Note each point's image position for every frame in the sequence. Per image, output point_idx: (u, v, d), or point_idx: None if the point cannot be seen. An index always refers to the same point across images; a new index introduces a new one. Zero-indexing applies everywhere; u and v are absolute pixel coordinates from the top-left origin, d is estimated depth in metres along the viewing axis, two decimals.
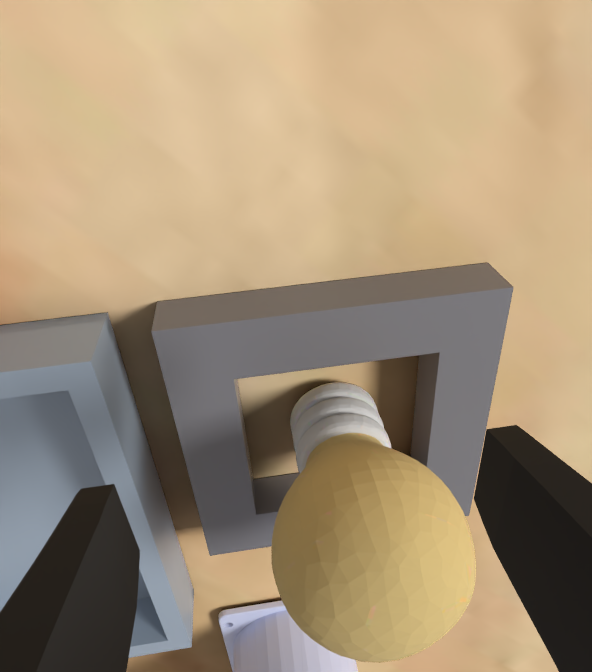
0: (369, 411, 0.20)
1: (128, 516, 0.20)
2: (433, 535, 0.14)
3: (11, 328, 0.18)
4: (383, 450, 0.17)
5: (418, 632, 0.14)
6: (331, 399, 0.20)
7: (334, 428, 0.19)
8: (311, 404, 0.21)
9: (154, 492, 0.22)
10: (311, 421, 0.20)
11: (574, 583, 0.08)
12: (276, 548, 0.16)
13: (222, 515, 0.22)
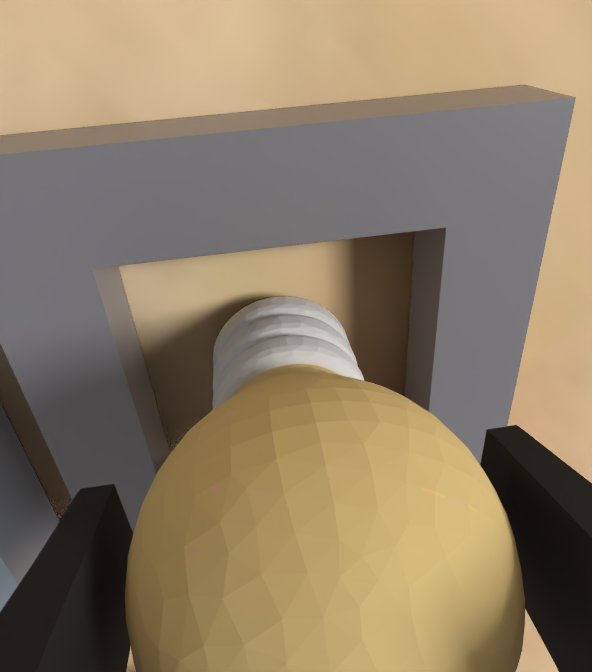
0: (332, 335, 0.12)
1: None
2: (439, 535, 0.06)
3: None
4: (343, 377, 0.09)
5: None
6: (270, 317, 0.12)
7: (269, 356, 0.11)
8: (240, 328, 0.13)
9: (8, 474, 0.14)
10: (236, 350, 0.12)
11: (574, 583, 0.08)
12: (127, 563, 0.08)
13: None
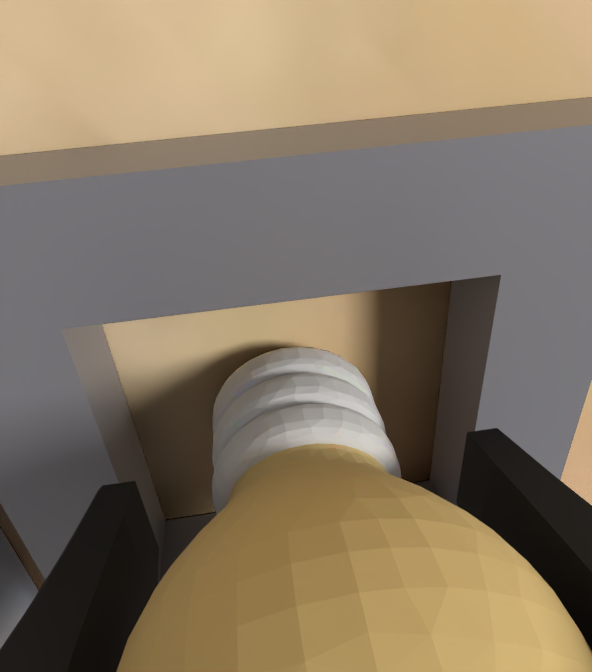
0: (357, 400, 0.10)
1: None
2: None
3: None
4: (384, 489, 0.07)
5: None
6: (282, 377, 0.10)
7: (282, 434, 0.09)
8: (245, 388, 0.11)
9: None
10: (240, 420, 0.10)
11: None
12: None
13: None
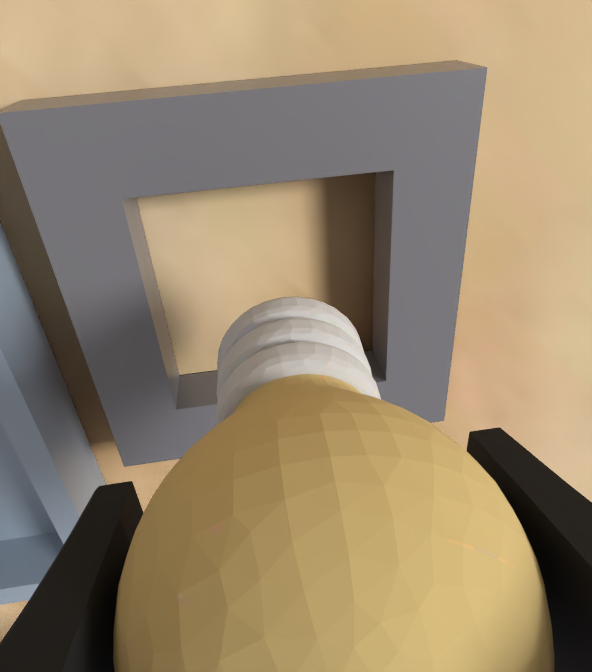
0: (345, 342, 0.11)
1: None
2: (467, 596, 0.06)
3: None
4: (360, 398, 0.08)
5: None
6: (280, 320, 0.12)
7: (278, 364, 0.10)
8: (247, 330, 0.12)
9: (47, 379, 0.18)
10: (242, 356, 0.11)
11: (553, 587, 0.08)
12: (117, 597, 0.07)
13: (132, 409, 0.18)
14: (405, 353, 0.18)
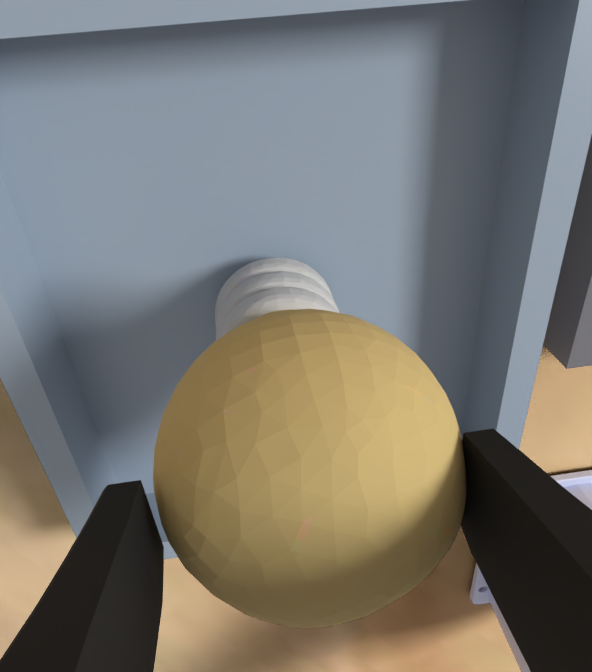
0: (325, 294, 0.15)
1: (540, 265, 0.15)
2: (416, 417, 0.09)
3: None
4: None
5: (377, 573, 0.08)
6: (274, 272, 0.15)
7: (274, 300, 0.13)
8: (246, 279, 0.15)
9: None
10: (243, 295, 0.14)
11: (545, 588, 0.08)
12: (160, 435, 0.10)
13: None
14: None
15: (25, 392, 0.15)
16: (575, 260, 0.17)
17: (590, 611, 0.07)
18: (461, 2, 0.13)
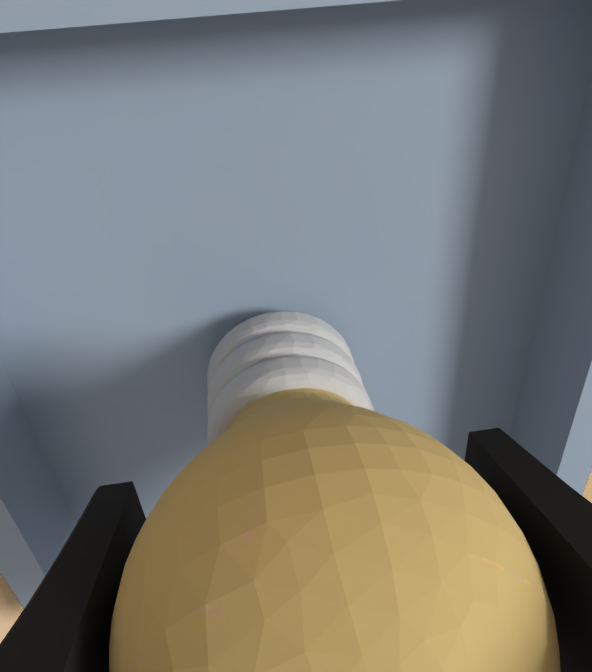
0: (345, 360, 0.11)
1: None
2: (501, 614, 0.06)
3: None
4: (377, 414, 0.08)
5: None
6: (281, 333, 0.12)
7: (282, 376, 0.10)
8: (245, 340, 0.12)
9: None
10: (241, 365, 0.11)
11: (552, 588, 0.08)
12: (118, 608, 0.07)
13: None
14: None
15: None
16: None
17: None
18: None
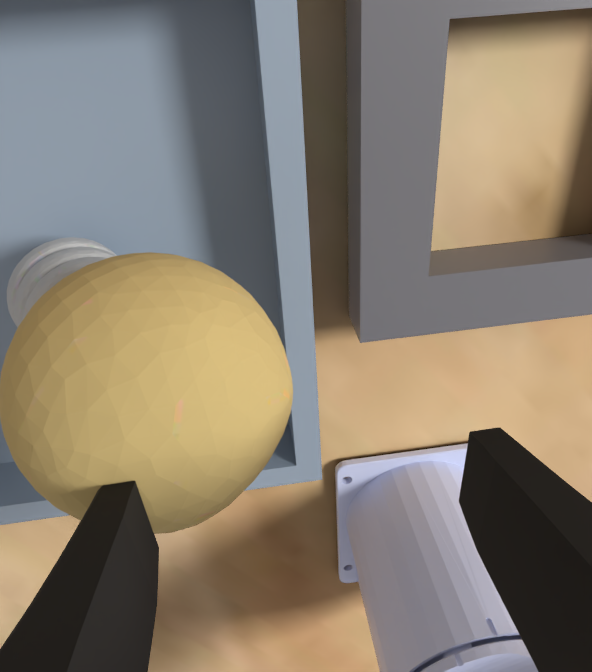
0: None
1: (288, 238, 0.15)
2: (239, 306, 0.11)
3: None
4: None
5: (244, 435, 0.10)
6: (65, 249, 0.15)
7: (76, 269, 0.14)
8: (36, 262, 0.15)
9: None
10: (39, 275, 0.14)
11: (553, 587, 0.08)
12: (8, 395, 0.10)
13: (388, 273, 0.18)
14: None
15: None
16: (354, 237, 0.18)
17: None
18: None
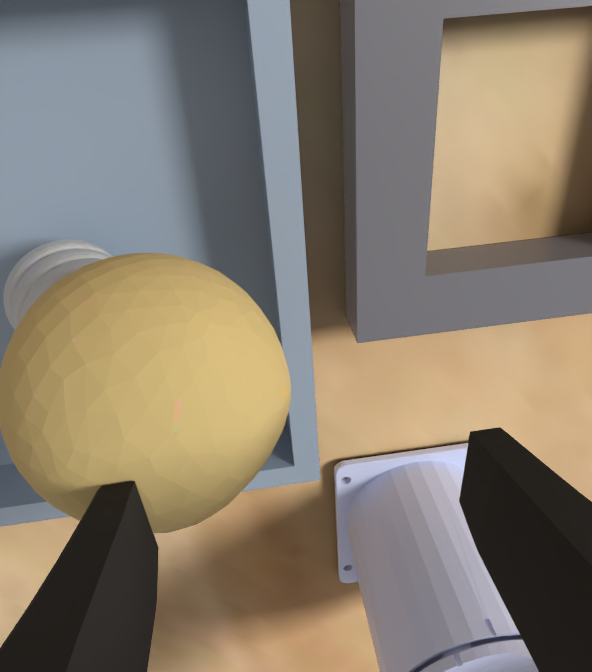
0: None
1: (283, 238, 0.15)
2: (236, 305, 0.11)
3: None
4: None
5: (243, 433, 0.10)
6: (61, 251, 0.15)
7: (73, 271, 0.14)
8: (32, 264, 0.15)
9: None
10: (36, 277, 0.14)
11: (554, 588, 0.08)
12: (6, 396, 0.10)
13: (384, 273, 0.18)
14: None
15: None
16: (350, 238, 0.18)
17: None
18: None
